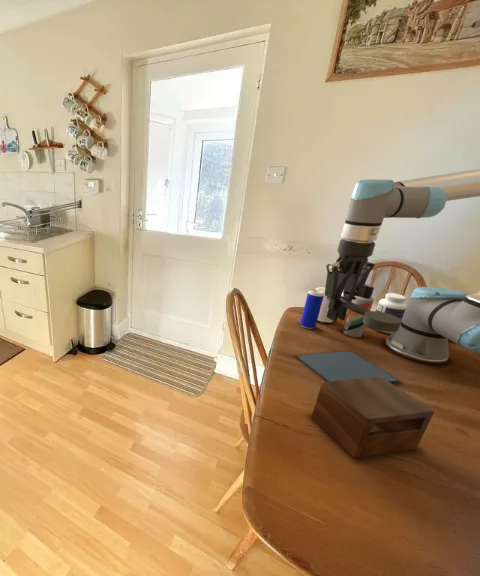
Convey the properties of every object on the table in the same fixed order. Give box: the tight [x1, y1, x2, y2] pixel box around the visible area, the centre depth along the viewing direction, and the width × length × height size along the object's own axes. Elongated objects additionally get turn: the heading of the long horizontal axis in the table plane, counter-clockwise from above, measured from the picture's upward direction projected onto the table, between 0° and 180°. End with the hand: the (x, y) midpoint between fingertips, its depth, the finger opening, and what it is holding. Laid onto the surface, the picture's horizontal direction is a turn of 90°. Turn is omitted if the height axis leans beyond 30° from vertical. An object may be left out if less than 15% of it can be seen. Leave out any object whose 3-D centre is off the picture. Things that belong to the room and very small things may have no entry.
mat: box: [296, 350, 399, 384], centre depth 98 cm, size 20×16×1 cm
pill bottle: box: [374, 292, 408, 335], centre depth 119 cm, size 8×8×14 cm
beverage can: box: [299, 288, 324, 330], centre depth 122 cm, size 5×5×15 cm
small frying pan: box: [327, 297, 401, 332], centre depth 85 cm, size 7×20×3 cm, turn 9°
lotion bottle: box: [342, 283, 375, 338], centre depth 115 cm, size 6×6×20 cm
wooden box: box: [310, 376, 436, 459], centre depth 73 cm, size 16×12×11 cm
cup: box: [314, 287, 344, 324], centre depth 127 cm, size 10×10×13 cm
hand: (335, 318), depth 92 cm, fingers closed on small frying pan, 2 cm apart
